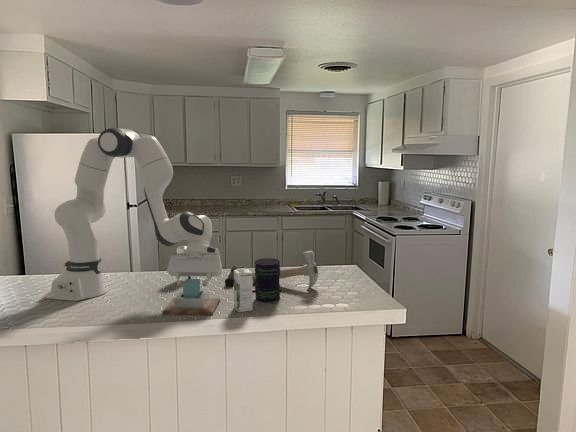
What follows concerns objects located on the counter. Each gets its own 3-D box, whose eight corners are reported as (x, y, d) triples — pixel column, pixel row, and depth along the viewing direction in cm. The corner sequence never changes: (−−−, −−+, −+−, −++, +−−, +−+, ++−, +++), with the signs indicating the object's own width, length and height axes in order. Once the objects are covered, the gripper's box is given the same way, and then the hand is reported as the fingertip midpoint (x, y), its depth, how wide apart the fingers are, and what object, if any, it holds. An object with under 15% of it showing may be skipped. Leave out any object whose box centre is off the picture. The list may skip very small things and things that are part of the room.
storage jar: (268, 292, 180) (268, 257, 177) (285, 298, 173) (285, 261, 170) (249, 298, 173) (249, 261, 170) (266, 304, 166) (266, 266, 163)
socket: (175, 309, 158) (174, 298, 157) (182, 299, 168) (182, 289, 167) (202, 309, 157) (202, 298, 157) (208, 300, 167) (208, 289, 167)
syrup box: (233, 307, 163) (232, 269, 160) (248, 305, 165) (248, 268, 163) (237, 312, 157) (236, 273, 155) (253, 310, 159) (252, 272, 157)
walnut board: (162, 314, 156) (162, 311, 156) (174, 301, 170) (173, 298, 170) (212, 314, 155) (212, 311, 155) (220, 301, 169) (220, 298, 169)
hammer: (247, 261, 192) (310, 252, 179) (252, 258, 196) (314, 249, 183) (255, 296, 193) (318, 289, 180) (260, 293, 197) (322, 286, 184)
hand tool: (234, 287, 187) (233, 276, 187) (224, 287, 188) (224, 276, 187) (241, 275, 206) (241, 265, 205) (232, 275, 206) (232, 265, 206)
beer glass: (191, 282, 194) (190, 249, 192) (175, 282, 194) (174, 249, 192) (195, 277, 201) (193, 245, 199) (179, 277, 201) (178, 245, 199)
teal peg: (183, 306, 160) (182, 282, 159) (187, 302, 165) (186, 278, 164) (197, 307, 160) (196, 283, 159) (200, 302, 165) (199, 279, 164)
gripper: (168, 248, 168) (161, 281, 160) (222, 249, 167) (217, 281, 159) (172, 257, 173) (166, 289, 165) (224, 257, 172) (220, 289, 164)
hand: (191, 285), depth 162 cm, fingers open, 8 cm apart
